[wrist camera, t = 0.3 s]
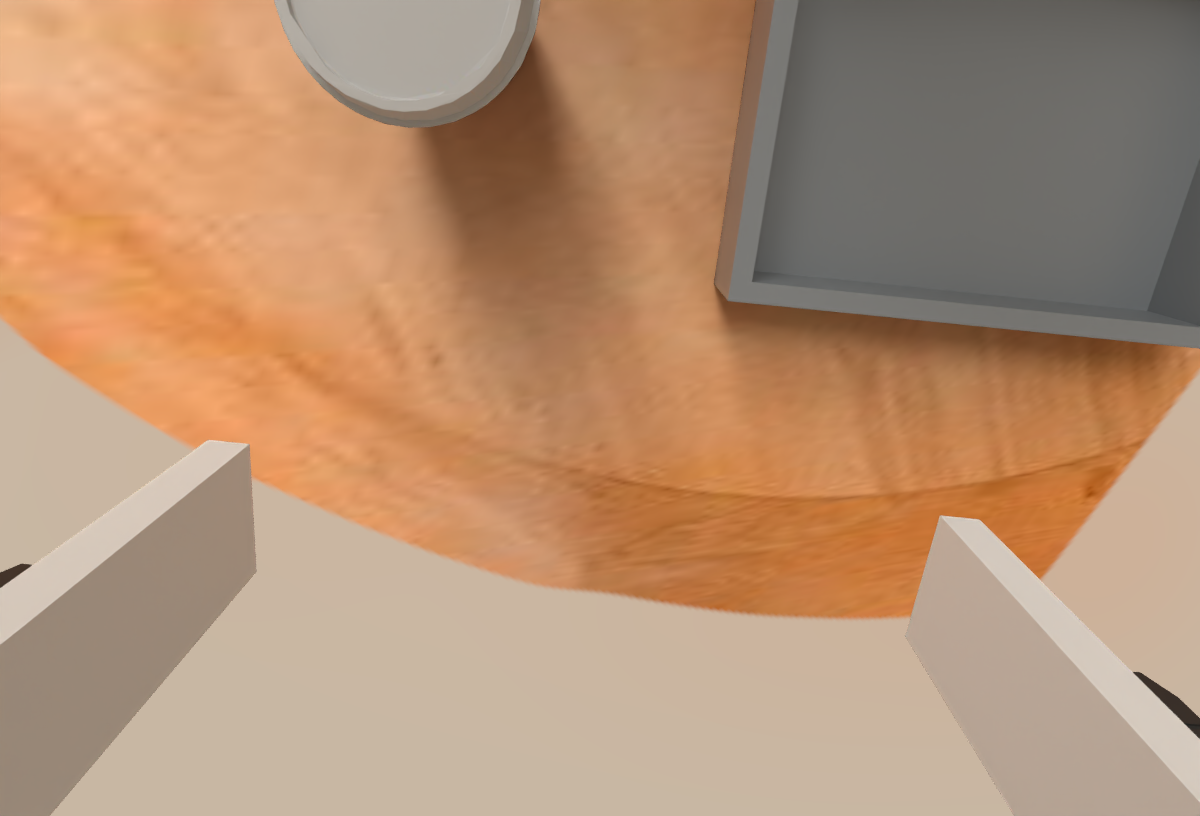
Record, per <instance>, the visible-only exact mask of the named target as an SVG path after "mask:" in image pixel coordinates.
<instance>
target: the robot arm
mask: <svg viewBox="0 0 1200 816" xmlns="http://www.w3.org/2000/svg"><path fill="white" fill-rule="evenodd" d="M255 573H256V554H255V537H254V518H253V500H252V481H251V463H250V444H244V443H234V442H224V441H215V440H207V441H206V442H205V443H203V444H202V445H200V446H199V447H198V448H196V449H195V450H193V451H192V452H191V453H189V454H188V455H186V456H185V457H184V458H182V459H181V460H180V461H178V462H177V463H175V464H174V465H172V466H171V467H170V468H168V469H167V470H165V471H164V472H163V473H161V474H160V475H158V476H157V477H156V478H154V479H153V480H151V481H150V482H149V483H147V484H146V485H144V486H143V487H142V488H140V489H139V490H137V491H136V492H135V493H133V494H132V495H130V496H129V497H127V498H126V499H125V500H123V501H122V502H121V503H119V504H118V505H116V506H115V507H113V508H112V509H111V510H109V511H108V512H106V513H105V514H104V515H102V516H101V517H99V518H98V519H97V520H95V521H94V522H93V523H91V524H90V525H88V526H87V527H85V528H84V529H83V530H81V531H80V532H79V533H77V534H76V535H74V536H73V537H71V538H70V539H69V540H67V541H66V542H65V543H63V544H62V545H61V546H59V547H57V548H56V549H55V550H53V551H52V552H50V553H49V554H48V555H46V556H45V557H43V558H42V559H41V560H39V561H38V562H36V563H35V564H33V565H29V564H20V565H17V566H15V567H13V568H10V569H8V570H6V571H3V572H1V573H0V816H50V815H51V813H52V812H53V811H54V810H55V809H56V808H57V806H58V805H59V804H60V803H61V802H62V801H63V799H64V798H65V797H66V796H67V795H68V794H69V792H70V791H71V790H72V789H73V788H74V786H75V785H76V784H77V783H78V782H79V781H80V779H81V778H82V777H83V776H84V775H85V773H86V772H87V771H88V770H89V769H90V768H91V766H92V765H93V764H94V763H95V762H96V761H97V759H98V758H99V757H100V756H101V755H102V753H103V752H104V751H105V750H106V749H107V748H108V746H109V745H110V744H111V743H112V741H113V740H114V739H115V738H116V737H117V736H118V735H119V733H120V732H121V731H122V730H123V729H124V727H125V726H126V725H127V724H128V723H129V722H130V720H131V719H132V718H133V717H134V716H135V714H136V713H137V712H138V711H139V710H140V709H141V707H142V706H143V705H144V704H145V703H146V701H147V700H148V699H149V698H150V697H151V696H152V694H153V693H154V692H155V691H156V690H157V688H158V687H159V686H160V685H161V684H162V683H163V681H164V680H165V679H166V677H167V676H168V675H169V674H170V673H171V672H172V671H173V670H174V668H175V667H176V666H177V665H178V664H179V663H180V661H181V660H182V659H183V658H184V657H185V655H186V654H187V653H188V652H189V651H190V649H191V648H192V647H193V646H194V645H195V644H196V642H197V641H198V640H199V639H200V638H201V636H202V635H203V634H204V633H205V632H206V631H207V629H208V628H209V627H210V626H211V624H213V622H214V621H215V620H216V619H217V618H218V616H219V615H220V614H221V613H222V612H223V611H224V609H225V608H226V607H227V606H228V605H229V603H230V602H231V601H232V600H233V599H234V597H235V596H236V595H237V594H238V593H239V592H240V591H241V589H242V588H243V587H244V586H245V585H246V583H247V582H248V581H249V580H250V579H251V578H252V576H253V575H254V574H255ZM905 637H906V639H907V640H908V642H909V644H910V645H911V647H912V648H913V650H914V652H915V653H916V655H917V657H918V658H919V660H920V662H921V663H922V665H923V667H924V668H925V670H926V672H927V673H928V675H929V677H930V678H931V680H932V681H933V683H934V685H935V686H936V688H937V690H938V691H939V693H940V694H941V696H942V698H943V700H944V701H945V703H946V705H947V706H948V708H949V709H950V711H951V713H952V714H953V716H954V718H955V719H956V721H957V723H958V724H959V726H960V728H961V729H962V731H963V733H964V734H965V736H966V737H967V739H968V741H969V742H970V744H971V746H972V747H973V749H974V751H975V752H976V754H977V756H978V757H979V759H980V761H981V762H982V764H983V766H984V767H985V769H986V770H987V772H988V774H989V775H990V777H991V778H992V780H993V782H994V784H995V785H996V787H997V789H998V790H999V792H1000V794H1001V795H1002V797H1003V798H1004V800H1005V802H1006V803H1007V805H1008V807H1009V808H1010V810H1011V812H1012V813H1013V815H1014V816H1200V718H1199V717H1198V716H1197V715H1196V714H1195V713H1194V712H1193V711H1192V710H1191V709H1190V708H1189V707H1187V705H1185V704H1184V703H1183V702H1182V701H1181V700H1180V699H1179V698H1178V697H1177V696H1175V695H1174V694H1172V693H1170V692H1169V691H1168V690H1166V689H1164V688H1163V687H1161V686H1160V685H1158V684H1157V683H1155V682H1154V681H1152V680H1151V679H1149V678H1148V677H1146V676H1145V675H1143V674H1142V673H1140V672H1132V671H1131V670H1130V669H1129V668H1128V667H1127V666H1126V665H1125V664H1124V663H1123V662H1122V661H1121V660H1120V659H1119V658H1118V657H1117V656H1116V655H1115V654H1114V653H1112V651H1111V650H1110V649H1109V648H1108V647H1107V646H1106V645H1105V644H1104V643H1103V642H1102V641H1101V640H1100V639H1099V638H1098V637H1097V636H1096V635H1095V634H1094V633H1093V632H1092V631H1091V630H1090V629H1088V627H1087V626H1086V625H1085V624H1084V623H1083V622H1082V621H1081V620H1080V619H1079V618H1078V617H1077V616H1076V615H1074V613H1073V612H1071V610H1070V609H1069V608H1067V606H1066V605H1065V604H1064V603H1063V602H1061V600H1060V599H1059V598H1058V597H1056V595H1055V594H1054V593H1052V592H1051V590H1050V589H1049V588H1048V587H1047V586H1046V585H1045V584H1043V583H1042V581H1041V580H1040V579H1039V578H1038V577H1037V576H1036V575H1035V574H1034V573H1033V572H1032V571H1031V570H1030V569H1029V568H1028V567H1027V566H1026V565H1025V564H1024V563H1023V562H1022V561H1021V560H1020V559H1019V558H1018V557H1017V556H1016V555H1015V554H1014V553H1013V552H1012V551H1011V550H1010V549H1009V548H1008V547H1007V546H1006V545H1005V544H1004V543H1003V542H1002V541H1001V540H1000V539H999V538H998V537H997V536H995V535H994V534H993V533H992V532H991V531H990V530H989V529H988V528H987V527H986V526H985V525H984V524H983V523H982V522H981V521H980V520H979V519H970V518H960V517H950V516H940V517H939V521H938V524H937V528H936V531H935V535H934V538H933V542H932V545H931V548H930V552H929V555H928V559H927V562H926V566H925V569H924V573H923V576H922V580H921V583H920V587H919V590H918V593H917V597H916V600H915V604H914V607H913V611H912V614H911V618H910V621H909V625H908V628H907V632H906V635H905Z"/></svg>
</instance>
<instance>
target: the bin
mask: <svg viewBox="0 0 1200 816" xmlns="http://www.w3.org/2000/svg"><path fill="white" fill-rule="evenodd" d="M714 284H715V286H716V287H717V288H718V290H719V291H720V292H721V293H722V295H723V296H724V297H725V298H726V300H727V301H733V302H743V303H753V304H763V305H773V306H783V307H793V308H802V309H812V310H822V311H832V312H842V313H852V314H862V315H872V316H882V317H892V318H902V319H912V320H922V321H932V322H941V323H951V324H961V325H971V326H981V327H991V328H1001V329H1011V330H1021V331H1031V332H1041V333H1051V334H1061V335H1071V336H1081V337H1090V338H1100V339H1110V340H1120V341H1130V342H1140V343H1150V344H1160V345H1170V346H1180V347H1190V348H1200V0H756V4H755V10H754V17H753V24H752V31H751V37H750V44H749V51H748V57H747V64H746V71H745V78H744V84H743V91H742V98H741V105H740V111H739V118H738V125H737V131H736V138H735V145H734V152H733V158H732V165H731V172H730V178H729V185H728V192H727V199H726V205H725V212H724V219H723V226H722V232H721V239H720V246H719V252H718V259H717V266H716V273H715V279H714Z"/></svg>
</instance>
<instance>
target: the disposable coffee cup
mask: <svg viewBox="0 0 1200 816" xmlns="http://www.w3.org/2000/svg"><path fill="white" fill-rule="evenodd" d="M274 1H275V5H276V8H277V11H278V14H279V17H280V20H281V23H282V26H283V29H284V31H285V33H286V35H287V38H288V40H289V42H290V44H291V46H292V48H293V50H294V51H295V53H296V54H297V56H298V57H299V59H300V60H301V62H302V63H303V65H304V66H305V68H306V69H307V71H308V72H309V73H310V74H311V75H312V76H313V77H314V79H315V80H316V81H317V82H318V83H319V84H320V85H321V86H322V87H323V88H324V89H325V90H326V91H327V92H329V93H330V94H331V95H332V96H333V97H334V98H336V99H337V100H338V101H339V102H341V103H342V104H344V105H346V106H347V107H349V108H350V109H352V110H354V111H355V112H357V113H359V114H361V115H363V116H365V117H368V118H370V119H373V120H376V121H379V122H382V123H385V124H390V125H396V126H402V127H408V128H409V127H433V126H438V125H442V124H447V123H452V122H455V121H458V120H460V119H462V118H464V117H466V116H468V115H470V114H472V113H474V112H476V111H478V110H479V109H481V108H483V107H484V106H486V105H487V104H488V103H489V102H491V101H492V100H493V99H494V98H495V97H496V96H497V95H498V94H499V93H500V92H501V91H503V89H504V88H505V87H506V86H507V84H508V83H509V82H510V81H511V79H512V78H513V77H514V76H515V75H516V73H517V71H518V70H519V68H520V67H521V65H522V63H523V61H524V58H525V56H526V53H527V51H528V48H529V46H530V44H531V41H532V39H533V36H534V34H535V30H536V25H537V20H538V14H539V9H540V0H274Z"/></svg>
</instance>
